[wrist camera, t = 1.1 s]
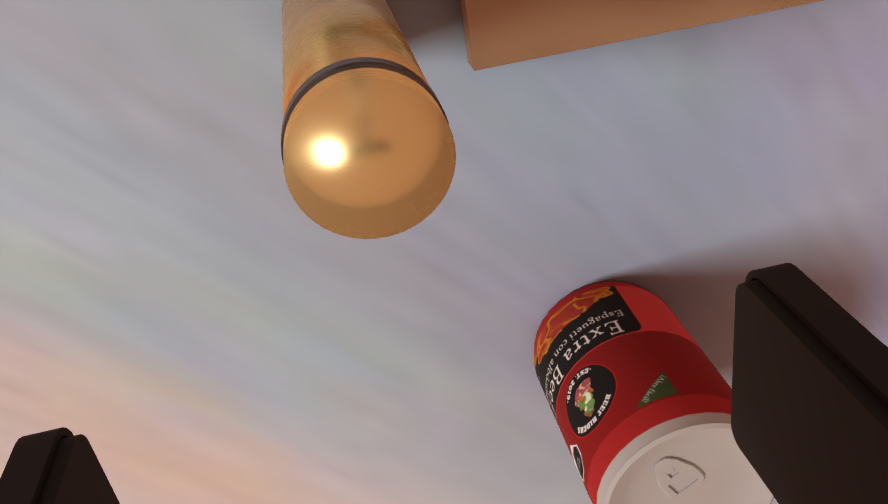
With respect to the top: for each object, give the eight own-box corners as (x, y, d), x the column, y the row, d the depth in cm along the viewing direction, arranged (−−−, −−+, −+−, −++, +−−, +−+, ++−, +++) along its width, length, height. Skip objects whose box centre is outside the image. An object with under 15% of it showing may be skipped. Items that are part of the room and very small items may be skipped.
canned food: (587, 252, 39) (684, 396, 30) (701, 313, 42) (822, 461, 33) (498, 366, 42) (562, 533, 32) (613, 416, 45) (701, 581, 35)
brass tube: (269, -31, 30) (260, 96, 17) (375, -52, 31) (444, 60, 18) (295, 73, 32) (304, 256, 20) (394, 53, 33) (468, 221, 20)
